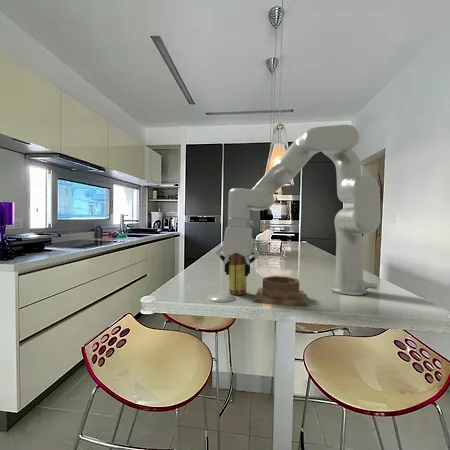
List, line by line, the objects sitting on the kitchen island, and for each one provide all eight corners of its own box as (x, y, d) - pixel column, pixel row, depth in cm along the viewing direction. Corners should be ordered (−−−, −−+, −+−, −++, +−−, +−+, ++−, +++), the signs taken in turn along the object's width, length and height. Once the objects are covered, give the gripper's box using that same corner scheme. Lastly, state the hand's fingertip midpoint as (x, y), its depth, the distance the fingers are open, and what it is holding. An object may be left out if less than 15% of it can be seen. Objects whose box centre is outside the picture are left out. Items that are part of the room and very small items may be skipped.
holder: (303, 293, 103) (303, 276, 103) (306, 306, 87) (307, 286, 87) (258, 290, 106) (259, 274, 106) (254, 302, 90) (254, 283, 90)
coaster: (236, 297, 97) (236, 295, 97) (232, 304, 88) (232, 302, 88) (211, 295, 99) (211, 293, 99) (204, 302, 90) (204, 299, 90)
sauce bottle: (248, 292, 102) (249, 237, 102) (243, 296, 97) (245, 238, 96) (230, 290, 105) (232, 236, 104) (225, 294, 99) (227, 237, 98)
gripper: (264, 224, 102) (262, 274, 102) (217, 223, 106) (215, 271, 106) (262, 224, 95) (260, 278, 95) (212, 223, 98) (210, 275, 99)
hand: (237, 274), depth 100 cm, fingers closed on sauce bottle, 6 cm apart
